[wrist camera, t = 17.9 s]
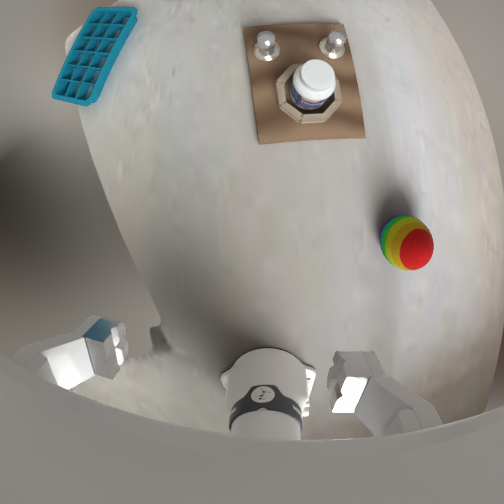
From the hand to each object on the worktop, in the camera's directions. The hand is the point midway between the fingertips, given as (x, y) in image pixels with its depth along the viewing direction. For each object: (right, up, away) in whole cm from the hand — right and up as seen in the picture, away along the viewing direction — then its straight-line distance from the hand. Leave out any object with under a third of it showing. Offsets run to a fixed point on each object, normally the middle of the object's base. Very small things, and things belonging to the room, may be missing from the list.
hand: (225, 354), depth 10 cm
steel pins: (+8, +34, +23) cm, 42 cm away
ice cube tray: (-27, +40, +26) cm, 55 cm away
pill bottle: (+9, +27, +26) cm, 38 cm away
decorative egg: (+25, +6, +32) cm, 41 cm away
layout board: (+9, +30, +26) cm, 41 cm away
